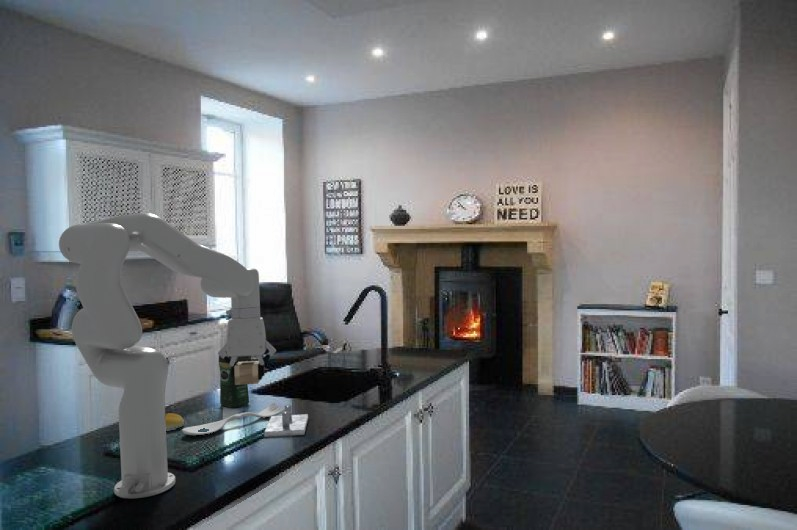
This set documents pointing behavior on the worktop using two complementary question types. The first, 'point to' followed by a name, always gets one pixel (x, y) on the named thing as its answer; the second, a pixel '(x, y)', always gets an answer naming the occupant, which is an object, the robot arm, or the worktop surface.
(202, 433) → the spoon
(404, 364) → the worktop surface
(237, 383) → the hollow wooden block
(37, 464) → the worktop surface
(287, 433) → the housing plate
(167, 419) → the bread roll
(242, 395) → the coffee jar
